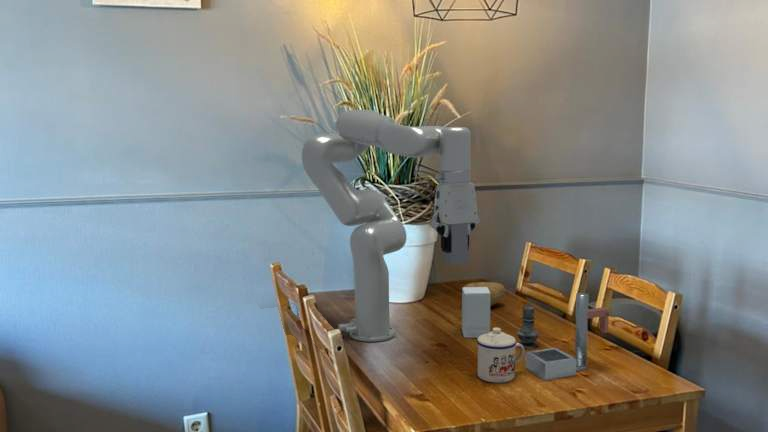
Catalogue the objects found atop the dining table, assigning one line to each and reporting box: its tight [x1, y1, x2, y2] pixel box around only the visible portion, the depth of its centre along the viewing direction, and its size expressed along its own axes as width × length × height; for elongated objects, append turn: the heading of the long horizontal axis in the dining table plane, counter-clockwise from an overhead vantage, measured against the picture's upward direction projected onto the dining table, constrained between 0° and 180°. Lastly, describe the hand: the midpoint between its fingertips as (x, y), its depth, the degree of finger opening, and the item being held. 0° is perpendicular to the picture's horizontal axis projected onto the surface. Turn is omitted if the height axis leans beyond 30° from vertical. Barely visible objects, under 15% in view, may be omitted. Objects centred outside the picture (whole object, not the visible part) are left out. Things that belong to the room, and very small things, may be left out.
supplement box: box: [461, 286, 491, 339], centre depth 197 cm, size 7×7×13 cm
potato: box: [463, 281, 506, 307], centre depth 224 cm, size 10×14×8 cm
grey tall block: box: [442, 224, 469, 265], centre depth 176 cm, size 5×5×12 cm
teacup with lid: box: [476, 327, 525, 384], centre depth 166 cm, size 12×9×12 cm
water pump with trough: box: [524, 292, 610, 381], centre depth 170 cm, size 20×8×18 cm, turn 111°
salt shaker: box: [516, 301, 540, 350], centre depth 187 cm, size 6×6×12 cm
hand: (455, 250), depth 177 cm, fingers closed on grey tall block, 4 cm apart
